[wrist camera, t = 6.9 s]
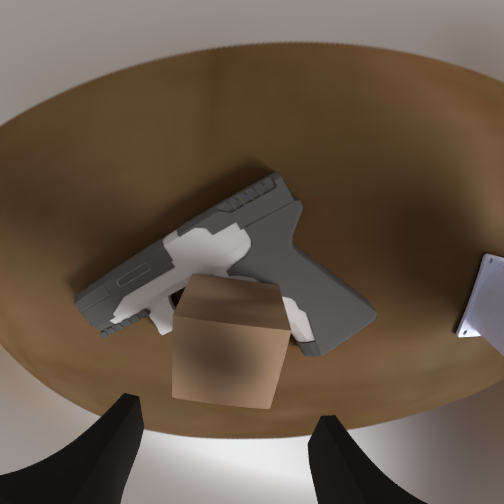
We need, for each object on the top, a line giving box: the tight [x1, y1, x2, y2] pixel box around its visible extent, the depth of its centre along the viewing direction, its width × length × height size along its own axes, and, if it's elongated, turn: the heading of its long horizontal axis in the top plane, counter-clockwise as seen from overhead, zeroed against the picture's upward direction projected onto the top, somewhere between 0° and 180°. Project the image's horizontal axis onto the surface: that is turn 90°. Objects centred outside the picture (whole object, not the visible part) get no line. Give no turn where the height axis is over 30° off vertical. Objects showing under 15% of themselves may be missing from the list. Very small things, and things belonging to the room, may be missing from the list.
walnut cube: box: [172, 273, 292, 409], centre depth 15 cm, size 5×5×5 cm
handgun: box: [74, 172, 377, 357], centre depth 18 cm, size 2×18×12 cm
